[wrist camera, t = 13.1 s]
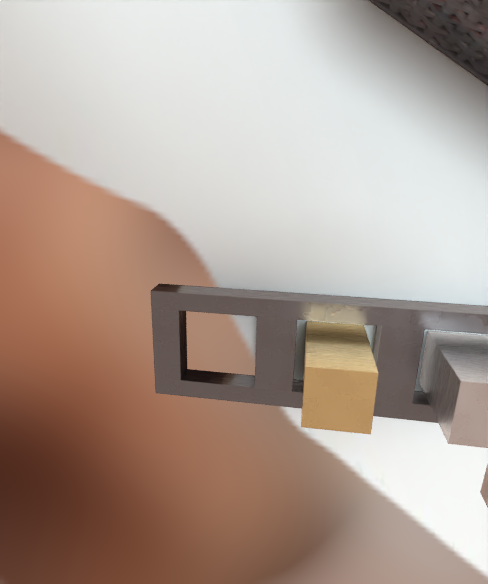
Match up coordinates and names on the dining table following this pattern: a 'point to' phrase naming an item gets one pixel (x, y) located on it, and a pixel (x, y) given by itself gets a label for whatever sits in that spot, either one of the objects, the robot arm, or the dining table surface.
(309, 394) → the maple wood beam
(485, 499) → the robot arm
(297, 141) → the dining table surface
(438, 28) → the storage bin
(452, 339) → the light grey block
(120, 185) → the dining table surface
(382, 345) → the rail
